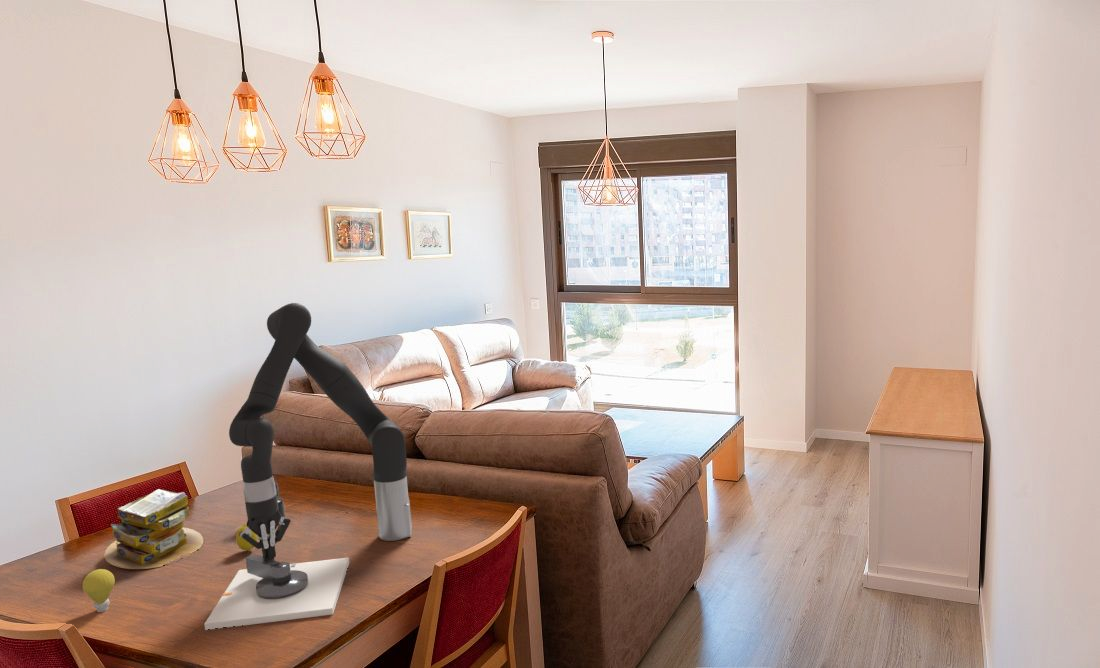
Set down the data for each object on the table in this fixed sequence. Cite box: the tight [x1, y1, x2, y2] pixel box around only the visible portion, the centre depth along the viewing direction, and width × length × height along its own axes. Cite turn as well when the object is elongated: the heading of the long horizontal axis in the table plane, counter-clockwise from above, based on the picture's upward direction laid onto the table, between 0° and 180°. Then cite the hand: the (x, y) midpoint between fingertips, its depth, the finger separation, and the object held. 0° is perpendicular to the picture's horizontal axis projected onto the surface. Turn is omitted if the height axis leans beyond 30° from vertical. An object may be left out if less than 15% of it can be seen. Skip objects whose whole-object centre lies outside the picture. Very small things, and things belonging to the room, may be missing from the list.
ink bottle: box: [274, 481, 286, 517], centre depth 230 cm, size 10×9×12 cm
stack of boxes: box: [104, 488, 204, 570], centre depth 212 cm, size 25×25×17 cm
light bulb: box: [82, 568, 116, 613], centre depth 179 cm, size 7×7×10 cm
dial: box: [245, 553, 308, 599], centre depth 183 cm, size 18×12×6 cm, turn 55°
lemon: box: [235, 523, 258, 552], centre depth 209 cm, size 6×6×8 cm
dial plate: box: [204, 557, 350, 631], centre depth 182 cm, size 28×28×2 cm
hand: (269, 560), depth 189 cm, fingers closed
